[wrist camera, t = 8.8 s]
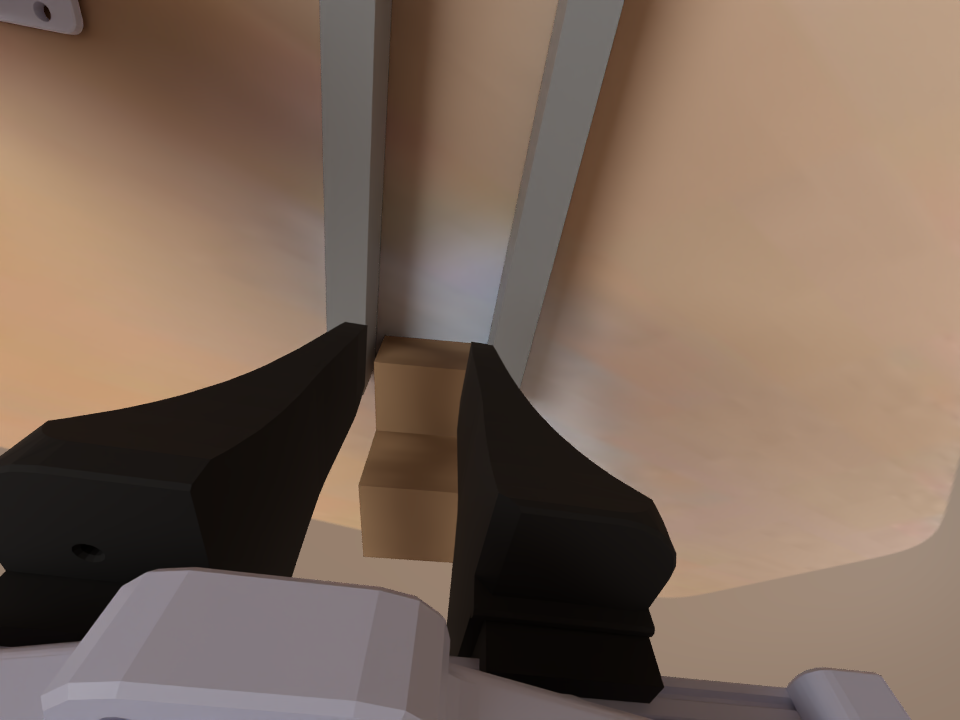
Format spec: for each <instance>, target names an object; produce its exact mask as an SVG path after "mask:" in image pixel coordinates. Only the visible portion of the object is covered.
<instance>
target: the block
mask: <svg viewBox="0 0 960 720" xmlns="http://www.w3.org/2000/svg"><path fill="white" fill-rule="evenodd" d="M470 346H471V343H462V342H452V341H441V340H430V339H419V338H409V337H398V336H387V335H385V337H384V339H383V341H382V344H381V346H380V349H379V351H378V353H377V356H376V358H375V361H374V379H375V408H376V433H375V436H374V439H373V442H372V445H371V448H370V451H369V455H368V458H367V461H366V464H365V467H364V470H363V473H362V476H361V479H360V482H359V500H360V514H361V528H362V543H363V556H364V557H376V558H391V559H407V560H422V561H436V562H450V563H453V557H454V546H455V534H456V523H457V510H458V471H457V425H458V415H459V406H460V398H461V393H462V388H463V383H464V378H465V372H466V367H467V362H468V357H469V352H470Z"/></svg>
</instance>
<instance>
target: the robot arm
mask: <svg viewBox="0 0 960 720" xmlns="http://www.w3.org/2000/svg"><path fill="white" fill-rule="evenodd" d="M45 5H46V6H47V7H48V9H49V11H50V13H51V19H50V20H49V19H48V18H47V17H46V15H45V13H44V6H45ZM0 21H2V22H7V23H12V24H18V25H23V26H28V27H33V28H38V29H43V30H48V31H53V32H58V33H63V34H70V35H78V34H79V33H81V32H82V29H83V18H82V14H81V10H80V7H79V3H78V0H0ZM367 327H368V325H362V324H356V323H350V322H344V323H342V324H340V325H338V326H336V327H335V328H333V329H331V330H330V331H328V332H326V333H325V334H323V335H321V336H320V337H318V338H316V339H314V340H313V341H311V342H309V343H308V344H306V345H304V346H302V347H301V348H299V349H297V350H295V351H293V352H291V353H289V354H287V355H285V356H283V357H281V358H279V359H277V360H275V361H273V362H271V363H269V364H267V365H265V366H263V367H261V368H258V369H256V370H254V371H251V372H249V373H246V374H244V375H241V376H239V377H236V378H234V379H231V380H228V381H225V382H223V383H219V384H216V385H213V386H210V387H206V388H203V389H200V390H197V391H194V392H190V393H187V394H184V395H180V396H176V397H172V398H168V399H164V400H160V401H156V402H152V403H147V404H143V405H138V406H134V407H129V408H124V409H119V410H113V411H107V412H101V413H95V414H89V415H83V416H77V417H71V418H64V419H57V420H50V421H47V422H46V423H44V424H43V425H42V426H40V427H39V428H37V429H36V430H35V431H33V432H32V433H31V434H29V435H28V436H27V437H25V438H24V439H23V440H21V441H20V442H19V443H17V444H16V445H15V446H13V447H12V448H11V449H9V450H8V451H7V452H5V453H4V454H3V455H1V456H0V563H1V565H2V566H3V567H4V569H5V570H6V572H4V573H3V575H2V576H0V720H911V718H910V717H909V716H908V714H907V713H906V711H905V710H904V708H903V707H902V705H901V704H900V702H899V701H898V700H897V698H896V697H895V695H894V694H893V692H892V691H891V690H890V688H889V686H888V685H887V683H886V682H885V681H884V679H883V678H882V676H881V675H879V674H876V673H874V672H865V671H855V670H846V669H836V668H814V669H810V670H806V671H804V672H802V673H800V674H798V675H797V676H796V677H795V678H794V679H793V680H792V681H791V682H790V683H789V684H788V686H787V688H783V687H772V686H762V685H750V684H740V683H730V682H720V681H709V680H698V679H688V678H676V677H667V676H661V675H660V672H659V669H658V665H657V662H656V659H655V655H654V652H653V649H652V645H651V642H650V639H649V637H652V636H653V634H654V631H655V627H654V624H653V621H652V618H651V615H650V612H649V607H650V606H651V604H652V603H653V601H654V600H655V598H656V597H657V596H658V594H659V593H660V592H661V590H662V589H663V587H664V586H665V585H666V583H667V582H668V580H669V579H670V577H671V575H672V573H673V571H674V569H675V567H676V552H675V549H674V547H673V545H672V542H671V540H670V537H669V534H668V532H667V529H666V527H665V524H664V522H663V520H662V518H661V516H660V514H659V512H658V510H657V508H656V506H655V504H654V502H653V500H652V499H650V498H648V497H647V496H645V495H643V494H642V493H640V492H638V491H637V490H635V489H633V488H631V487H630V486H628V485H626V484H625V483H623V482H621V481H620V480H618V479H616V478H615V477H613V476H612V475H610V474H609V473H608V472H606V471H605V470H603V469H602V468H600V467H599V466H598V465H596V464H595V463H593V462H592V461H591V460H589V459H588V458H587V457H585V456H584V455H583V454H582V453H580V452H579V451H578V450H577V449H575V448H574V447H573V446H572V445H571V444H570V443H568V442H567V441H566V440H565V439H564V438H563V437H561V436H560V435H559V434H558V433H557V432H556V431H555V430H554V429H553V428H552V427H551V426H550V425H549V424H548V423H547V422H546V421H545V420H544V419H543V418H542V416H541V415H540V414H539V413H538V412H537V411H536V410H535V409H534V407H533V406H532V405H531V404H530V402H529V401H528V400H527V399H526V397H525V396H524V395H523V393H522V392H521V390H520V389H519V387H518V386H517V384H516V383H515V381H514V380H513V378H512V377H511V375H510V374H509V372H508V370H507V369H506V367H505V365H504V364H503V362H502V360H501V358H500V356H499V354H498V353H497V351H496V349H495V348H494V346H493V345H488V344H482V343H475V342H471V346H470V352H469V357H468V362H467V367H466V372H465V378H464V383H463V388H462V393H461V398H460V406H459V415H458V425H457V471H458V510H457V523H456V534H455V546H454V557H453V568H452V578H451V589H450V598H449V608H448V619H447V624H446V620H445V619H444V618H443V616H442V615H441V614H440V613H439V612H437V611H435V610H434V609H433V608H432V607H430V606H429V605H428V604H426V603H425V602H423V601H422V600H421V599H419V598H418V597H416V596H413V595H410V594H405V593H402V592H398V591H394V590H391V589H386V588H383V587H376V586H366V585H358V584H349V583H339V582H330V581H321V580H311V579H301V578H293V577H292V574H293V571H294V568H295V565H296V562H297V559H298V556H299V552H300V549H301V547H302V544H303V541H304V538H305V535H306V532H307V529H308V526H309V523H310V520H311V517H312V514H313V511H314V508H315V505H316V503H317V500H318V497H319V494H320V492H321V489H322V487H323V485H324V482H325V480H326V478H327V476H328V473H329V471H330V469H331V467H332V465H333V463H334V461H335V459H336V457H337V455H338V452H339V450H340V448H341V446H342V444H343V442H344V440H345V438H346V436H347V433H348V431H349V429H350V427H351V425H352V423H353V421H354V418H355V416H356V413H357V410H358V407H359V404H360V401H361V397H362V394H363V391H364V387H365V372H366V349H367Z"/></svg>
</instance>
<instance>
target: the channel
mask: <svg viewBox="0 0 960 720" xmlns="http://www.w3.org/2000/svg"><path fill="white" fill-rule="evenodd" d="M319 2H320V47H321V92H322V137H323V181H324V226H325V271H326V316H327V332H328V331H330V330H331V329H333V328H335V327H336V326H338V325H340V324H342V323H344V322H350V323H356V324H362V325H368V327H367V349H366V372H365V387H364V391H363V394H364V392H365V389H366V387H367V384H368V382H369V379H370V377H371V374H372V372H373V369H374V361H375V350H376V329H377V308H378V287H379V265H380V244H381V223H382V202H383V180H384V159H385V138H386V117H387V95H388V74H389V53H390V32H391V10H392V0H319ZM623 3H624V0H559V1H558V6H557V10H556V15H555V20H554V25H553V30H552V35H551V39H550V44H549V49H548V54H547V59H546V64H545V68H544V73H543V78H542V83H541V88H540V93H539V98H538V102H537V107H536V112H535V117H534V122H533V127H532V131H531V136H530V141H529V146H528V151H527V156H526V161H525V165H524V170H523V175H522V180H521V185H520V190H519V194H518V199H517V204H516V209H515V214H514V219H513V223H512V228H511V233H510V238H509V243H508V248H507V253H506V257H505V262H504V267H503V272H502V277H501V282H500V286H499V291H498V296H497V301H496V306H495V311H494V316H493V320H492V325H491V330H490V335H489V340H488V345H493V346H494V348H495V349H496V351H497V353H498V354H499V356H500V358H501V360H502V362H503V364H504V365H505V367H506V369H507V370H508V372H509V374H510V375H511V377H512V378H513V380H514V381H515V383H516V384H517V386H518V387H519V389H520V386H521V382H522V378H523V375H524V371H525V367H526V363H527V360H528V356H529V352H530V349H531V345H532V341H533V337H534V334H535V330H536V326H537V323H538V319H539V315H540V311H541V308H542V304H543V300H544V297H545V293H546V289H547V285H548V282H549V278H550V274H551V271H552V267H553V263H554V259H555V256H556V252H557V248H558V245H559V241H560V237H561V233H562V230H563V226H564V222H565V219H566V215H567V211H568V207H569V204H570V200H571V196H572V193H573V189H574V185H575V181H576V178H577V174H578V170H579V167H580V163H581V159H582V155H583V152H584V148H585V144H586V141H587V137H588V133H589V130H590V126H591V122H592V118H593V115H594V111H595V107H596V104H597V100H598V96H599V92H600V89H601V85H602V81H603V78H604V74H605V70H606V66H607V63H608V59H609V55H610V52H611V48H612V44H613V40H614V37H615V33H616V29H617V26H618V22H619V18H620V14H621V11H622V7H623ZM363 394H362V395H363Z"/></svg>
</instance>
